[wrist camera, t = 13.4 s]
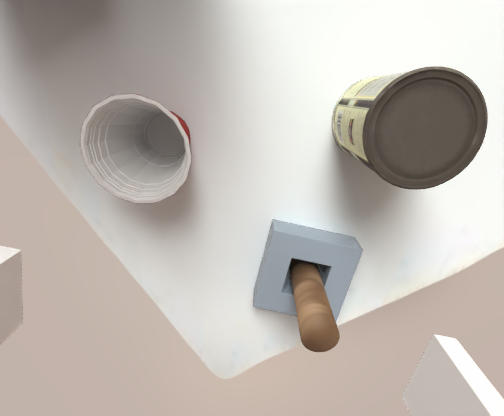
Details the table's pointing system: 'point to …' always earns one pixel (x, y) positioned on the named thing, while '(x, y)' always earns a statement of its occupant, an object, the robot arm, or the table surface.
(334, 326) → the peg
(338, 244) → the socket block
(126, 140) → the plastic cup
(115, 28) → the table surface
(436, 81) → the coffee can
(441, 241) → the table surface
